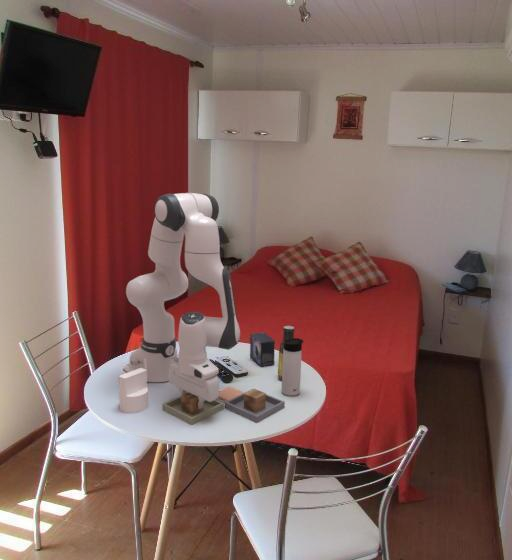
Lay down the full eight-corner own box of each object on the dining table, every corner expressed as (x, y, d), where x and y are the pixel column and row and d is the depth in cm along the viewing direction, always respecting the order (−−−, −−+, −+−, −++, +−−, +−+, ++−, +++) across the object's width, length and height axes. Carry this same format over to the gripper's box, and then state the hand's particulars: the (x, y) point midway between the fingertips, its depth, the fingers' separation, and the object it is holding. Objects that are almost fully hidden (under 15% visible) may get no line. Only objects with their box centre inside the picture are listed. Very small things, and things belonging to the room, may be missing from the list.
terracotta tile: (213, 396, 178) (213, 393, 177) (229, 389, 184) (229, 386, 183) (230, 404, 173) (230, 401, 172) (246, 396, 179) (246, 393, 178)
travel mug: (299, 399, 178) (302, 343, 173) (280, 396, 179) (282, 341, 174) (301, 391, 183) (304, 337, 179) (282, 389, 185) (285, 335, 180)
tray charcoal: (224, 409, 169) (224, 402, 168) (252, 395, 179) (252, 388, 179) (256, 424, 160) (257, 416, 160) (284, 408, 171) (284, 401, 170)
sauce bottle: (288, 383, 189) (290, 331, 184) (274, 379, 193) (276, 327, 188) (298, 377, 194) (300, 327, 189) (284, 373, 198) (286, 323, 193)
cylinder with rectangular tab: (136, 398, 175) (135, 365, 172) (154, 407, 169) (153, 372, 167) (114, 408, 168) (112, 373, 165) (131, 417, 163) (130, 381, 160)
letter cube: (181, 409, 167) (181, 394, 166) (193, 404, 171) (193, 389, 170) (192, 414, 164) (192, 399, 163) (203, 409, 168) (203, 394, 166)
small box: (248, 358, 212) (249, 333, 209) (263, 355, 215) (263, 331, 212) (259, 367, 203) (260, 342, 200) (274, 365, 205) (275, 340, 203)
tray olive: (162, 411, 167) (162, 404, 166) (194, 396, 177) (194, 390, 176) (191, 426, 158) (191, 418, 158) (223, 410, 168) (223, 403, 168)
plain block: (243, 407, 169) (244, 393, 168) (253, 402, 173) (254, 388, 172) (255, 412, 166) (255, 398, 165) (265, 407, 170) (265, 393, 169)
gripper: (163, 357, 168) (164, 397, 171) (207, 376, 155) (207, 418, 158) (178, 352, 173) (178, 391, 176) (222, 370, 160) (222, 411, 163)
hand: (192, 404), depth 167 cm, fingers closed on letter cube, 5 cm apart
